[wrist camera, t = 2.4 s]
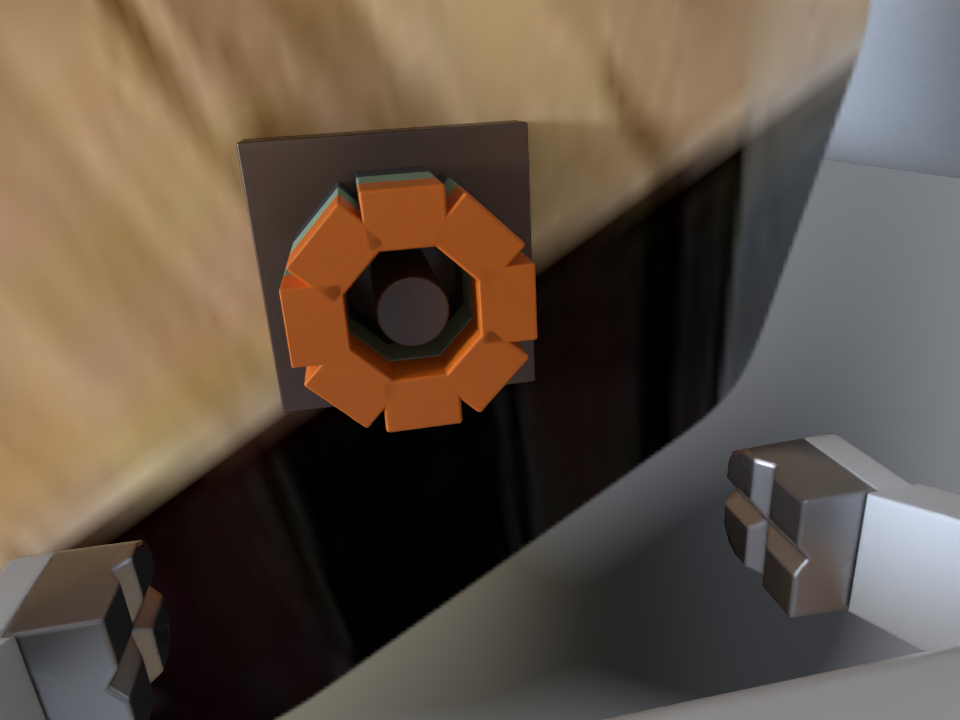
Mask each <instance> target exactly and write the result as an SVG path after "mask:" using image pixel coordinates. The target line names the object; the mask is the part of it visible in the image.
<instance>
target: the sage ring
mask: <svg viewBox="0 0 960 720" xmlns="http://www.w3.org/2000/svg"><path fill="white" fill-rule="evenodd" d="M434 177H435V176H434V175H433V174H432V173H431V172H428V171H427V172H414V173H402V174H389V175H377V176H364V177H358V178H357V179H356V184H357V186H358V184H360V183H372V182H384V181H396V180H409V179H421V178H434ZM435 178H436V177H435ZM457 185H458V184H457V183H456V182H454V181H453V180H452V179H450V178H448V179H447V180H446V181H445V183H444V186H445V192H446V197H447V196H448V194H449V193H450V192H451V191H452V190H453V188H454V187H455V186H457ZM458 186H459V185H458ZM357 192H358V189H357ZM337 195H340V196H342V197H343V198H344V199H345V200H347V201H348V202H349V203H350V204H352V205H353V206H354V207H355V208H356V209H358V210H359V211H360V206H359V203H358V202H357V201H356V200H355V199H353V198H352V197H351V196H350V195H348V194H347V193H346V192H345V191H344V190H342V189H341V188H339V187H338V188H337V189H336V190H335V191H334V192H333V194H332V195H331V196H330V197H329V199H328V200H327V201H326V202H325V204H324V205H323V206H322V207H321V209H320V210H319V211H318V212H317V214H316V215H315V216H314V217H313V219H312V220H311V221H310V222H309V224H308V225H307V226H306V227H305V229H304V230H303V231H302V232H301V234H300V235H299V236H298V237H297V239H296V240H295V241H294V242H293V245H292V248H291V251H290V253H291V252H292V251H293V249H294V248H295V247H296V246H297V244H298V243H299V242H300V241H301V239H302V238H303V237H304V236H305V234H306V233H307V232H308V231H309V229H310V228H311V227H312V226H313V224H314V223H315V222H316V221H317V219H318V218H319V217H320V216H321V214H322V213H323V212H324V211H325V209H326V208H327V207H328V206H329V204H330V203H331V202H332V201H333V199H334V198H335V197H336V196H337ZM358 201H359V198H358ZM461 272H462V287H463V302H464V304H463V305H462V306H461V307H460V308H459V310H458V311H457V312H456V313H455V314H454V315H453V317H452V318H451V319H450V320H449V321H448V322H447V324H446V326H445V328H444V329H443V331H442V332H441V333H440V334H439V335H438V336H437V337H436V338H435V339H434V340H432V341H430V342H428V343H426V344H423V345H419V346H405V345H401V344H398V343H391V344H386V343H385V342H384V341H382V340H381V339H379V338H378V337H377V336H375V335H374V334H373V333H371V332H370V331H369V330H367V329H366V328H365V327H363V326H362V325H361V324H359V323H358V322H357V321H355V320H354V319H353V318H351V317H350V316H349V310H348V303H347V295H346V293H345V299H346V307H347V314H348V322H349V330H350V332H351V333H352V334H353V335H355V336H356V337H358V338H359V339H360V340H362V341H363V342H364V343H366V344H367V345H368V346H370V347H371V348H372V349H374V350H375V351H377V352H378V353H379V354H381V355H382V356H383V357H385V358H386V359H387V360H389V361H390V362H391V361H400V360H408V359H417V358H425V357H433V356H440V355H441V354H442V353H443V352H444V350H445V349H446V348H447V347H448V346H449V345H450V344H451V342H452V341H453V340H454V339H455V338H456V337H457V336H458V334H459V333H460V332H461V331H462V330H463V329H464V327H465V326H466V325H467V324H468V323H469V322H470V321H471V319H472V308H471V293H470V277H469V274H468V273H467V272H466V271H465V270H464V269H462V268H461ZM290 274H292V273H290V272H289V271H288V270H287V269H286V270H285V273H284V275H290Z"/></svg>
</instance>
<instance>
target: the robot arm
mask: <svg viewBox="0 0 960 720" xmlns="http://www.w3.org/2000/svg"><path fill="white" fill-rule="evenodd" d="M727 477H728V478H729V480H730V481H731V482H732V484H733V485H734V486H735V488H736V489H735V490H734V492H733V493H732V495H731V496H730V497H729V499H728V500H727V501H726V503H725V520H724V524H725V528H726V532H727V536H728V540H729V543H730V545H731V547H732V549H733V551H734V553H735V554H736V555H737V557H738V558H739V559H740V560H741V561H742V563H743V564H744V565H745V566H747V567H749V568H751V569H754V570H756V571H758V572H760V573H763V574H764V575H763V587H764V588H765V589H766V591H767V592H768V593H769V594H770V595H771V596H772V597H773V598H774V600H775V601H776V602H777V603H778V604H779V605H780V607H781V608H782V609H783V610H784V611H785V612H786V613H787V614H788V616H789V617H790V618H793V617H799V616H805V615H810V614H817V613H823V612H829V611H835V610H841V609H847V608H849V612H851V613H853V614H855V615H857V616H858V617H860V618H862V619H864V620H866V621H868V622H869V623H871V624H873V625H875V626H877V627H879V628H881V629H882V630H884V631H886V632H888V633H890V634H892V635H893V636H895V637H897V638H899V639H901V640H902V641H904V642H906V643H908V644H910V645H912V646H914V647H916V648H917V649H919V650H921V651H923V652H920V653H916V654H911V655H906V656H901V657H897V658H892V659H887V660H882V661H878V662H873V663H868V664H864V665H859V666H854V667H849V668H844V669H840V670H835V671H830V672H825V673H821V674H816V675H811V676H806V677H802V678H797V679H792V680H788V681H782V682H778V683H773V684H768V685H764V686H759V687H754V688H750V689H745V690H740V691H735V692H730V693H725V694H721V695H716V696H711V697H706V698H702V699H697V700H692V701H687V702H683V703H678V704H673V705H668V706H664V707H659V708H654V709H650V710H645V711H640V712H635V713H631V714H626V715H621V716H617V717H612V718H607V719H602V720H960V494H959V493H955V492H951V491H947V490H944V489H940V488H936V487H933V486H929V485H925V484H916V485H911V484H910V483H908V482H906V481H905V480H904V479H902V478H901V477H899V476H898V475H896V474H895V473H893V472H892V471H890V470H889V469H887V468H886V467H884V466H883V465H881V464H880V463H878V462H877V461H875V460H874V459H872V458H871V457H869V456H868V455H866V454H865V453H863V452H862V451H860V450H859V449H858V448H856V447H854V446H853V445H852V444H850V443H848V442H847V441H845V440H844V439H843V438H841V437H839V436H838V435H833V434H828V433H827V434H822V435H817V436H812V437H806V438H802V439H797V440H792V441H786V442H780V443H775V444H769V445H764V446H759V447H753V448H747V449H742V450H737V451H733V453H732V455H731V458H730V460H729V465H728V475H727ZM155 568H156V567H155V564H154V561H153V557H152V554H151V551H150V548H149V546H148V545H147V544H146V543H145V542H144V541H143V540H139V541H132V542H124V543H117V544H109V545H102V546H94V547H87V548H79V549H72V550H64V551H60V552H56V551H54V552H48V553H42V554H36V555H30V556H24V557H19V558H16V559H13V560H11V561H9V562H8V563H7V565H6V566H5V568H4V569H3V570H2V572H1V573H0V720H149V717H150V713H151V710H152V707H153V703H154V700H155V698H154V695H153V691H152V688H151V684H150V683H151V682H152V681H153V680H154V679H155V678H156V677H157V676H158V675H159V674H161V673H162V672H163V670H164V666H165V663H166V659H167V655H168V648H169V632H170V629H169V620H168V612H167V608H166V604H165V600H164V596H163V595H161V594H160V593H159V592H157V591H156V590H155V589H153V588H152V587H150V586H149V585H150V582H151V579H152V577H153V574H154V571H155Z"/></svg>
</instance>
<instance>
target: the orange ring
mask: <svg viewBox="0 0 960 720" xmlns="http://www.w3.org/2000/svg"><path fill="white" fill-rule="evenodd" d="M357 189H358V198H359V206H360V211H359V210H358V209H356V208H355V207H354V206H353V205H352V204H350V203H349V202H348V201H347V200H345V199H344V198H343V197H342V196H340V195H337V196H336V197H335V198H334V199H333V201H332V202H331V203H330V204H329V206H328V207H327V208H326V209H325V211H324V212H323V213H322V214H321V216H320V217H319V218H318V219H317V221H316V222H315V223H314V224H313V226H312V227H311V228H310V229H309V231H308V232H307V233H306V234H305V236H304V237H303V238H302V239H301V241H300V242H299V243H298V244H297V246H296V247H295V248H294V249H293V251H292V252H291V253H290V255H289V258H288V262H287V265H286V269H287V270H288V271H289V272H290V273H292V274H290V275H284V276H283V280H282V283H281V286H280V289H279V294H280V300H281V306H282V312H283V318H284V324H285V330H286V336H287V342H288V348H289V354H290V360H291V366H292V368H298V367H306V366H307V367H306V374H305V382H304V385H305V387H307V388H308V389H310V390H311V391H313V392H314V393H316V394H317V395H319V396H320V397H322V398H323V399H325V400H326V401H328V402H329V403H330V404H332V405H333V406H335V407H336V408H338V409H339V410H341V411H342V412H344V413H345V414H347V415H348V416H350V417H351V418H353V419H354V420H355V421H357V422H358V423H360V424H361V425H363V426H364V427H366V428H368V427H369V426H370V425H371V424H372V422H373V421H374V420H375V419H376V418H377V417H378V416H379V414H380V413H381V412H382V411H383V410H384V416H385V424H386V430H387V432H396V431H403V430H411V429H418V428H426V427H433V426H441V425H448V424H456V423H461V422H462V409H461V400H463V401H464V402H465V403H467V404H468V405H470V406H471V407H472V408H474V409H475V410H476V411H478V412H481V411H482V410H483V409H484V408H485V407H486V406H487V405H488V404H489V402H490V401H491V400H492V399H493V398H494V397H495V396H496V395H497V394H498V392H499V391H500V390H501V389H502V388H503V387H504V386H505V385H506V384H507V382H508V381H509V380H510V379H511V378H512V377H513V376H514V375H515V373H516V372H517V371H518V370H519V369H520V368H521V367H522V366H523V365H524V363H525V362H526V361H527V360H528V358H529V357H528V355H527V353H526V352H525V350H524V349H523V348H522V346H521V345H520V343H519V342H518V341H526V340H535V339H537V309H536V275H535V264H534V263H533V262H532V261H531V260H530V259H529V258H527V257H526V256H525V255H524V254H523V253H522V252H520V251H521V250H522V249H523V248H524V246H525V244H524V242H523V241H522V240H521V239H520V238H519V237H518V236H516V235H515V234H514V233H513V232H512V231H511V230H510V229H509V228H507V227H506V226H505V225H504V224H503V223H502V222H501V221H500V220H499V219H497V218H496V217H495V216H494V215H493V214H492V213H491V212H490V211H488V210H487V209H486V208H485V207H484V206H483V205H482V204H481V203H479V202H478V201H477V200H476V199H475V198H474V197H473V196H472V195H470V194H469V193H468V192H467V191H466V190H464V189H463V188H462V187H461V186H458V185H457V186H455V187H454V188H453V190H452V191H451V192H450V193H449V194H448V196H447V197H446V192H445V186H444V184H443V183H442V182H441V181H440V180H438V179H437V178H435V177H434V178H421V179H409V180H396V181H384V182H372V183H360V184H358V186H357ZM426 247H437V248H438V249H440V250H441V251H442V252H443V253H444V254H446V255H447V256H448V257H449V258H450V259H452V260H453V261H454V262H455V263H456V264H458V265H459V266H460V267H461V268H462V269H464V270H465V271H466V272H467V273H468V274H469V277H470V293H471V308H472V319H471V321H470V322H469V323H468V324H467V325H466V326H465V327H464V329H463V330H462V331H461V332H460V333H459V334H458V336H457V337H456V338H455V339H454V340H453V341H452V342H451V344H450V345H449V346H448V347H447V348H446V349H445V350H444V352H443V353H442V354H441V355H440V356H433V357H425V358H417V359H408V360H400V361H391V362H390V361H389V360H387V359H386V358H385V357H383V356H382V355H381V354H379V353H378V352H377V351H375V350H374V349H372V348H371V347H370V346H368V345H367V344H366V343H364V342H363V341H362V340H360V339H359V338H358V337H356V336H355V335H353V334H352V333H351V332H350V330H349V322H348V314H347V307H346V299H345V293H346V292H347V290H348V289H349V288H350V287H351V286H352V284H353V283H354V282H355V281H356V280H357V278H358V277H359V276H360V275H361V273H362V272H363V271H364V270H365V269H366V267H367V266H368V265H369V264H370V263H371V261H372V260H373V259H374V258H375V257H376V255H377V254H378V253H379V252H385V251H395V250H406V249H416V248H426Z"/></svg>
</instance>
